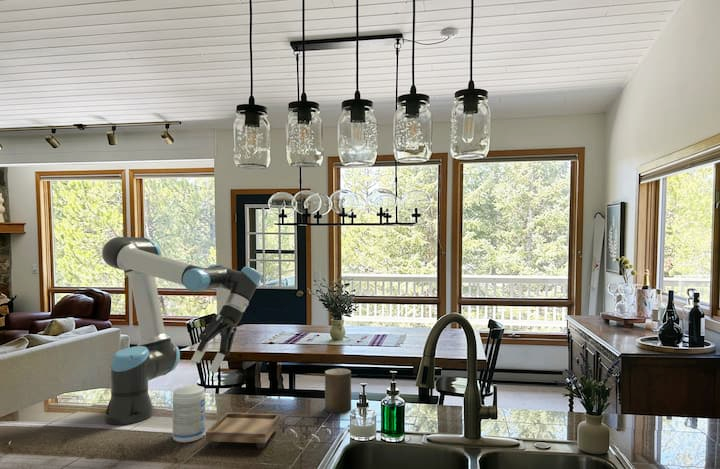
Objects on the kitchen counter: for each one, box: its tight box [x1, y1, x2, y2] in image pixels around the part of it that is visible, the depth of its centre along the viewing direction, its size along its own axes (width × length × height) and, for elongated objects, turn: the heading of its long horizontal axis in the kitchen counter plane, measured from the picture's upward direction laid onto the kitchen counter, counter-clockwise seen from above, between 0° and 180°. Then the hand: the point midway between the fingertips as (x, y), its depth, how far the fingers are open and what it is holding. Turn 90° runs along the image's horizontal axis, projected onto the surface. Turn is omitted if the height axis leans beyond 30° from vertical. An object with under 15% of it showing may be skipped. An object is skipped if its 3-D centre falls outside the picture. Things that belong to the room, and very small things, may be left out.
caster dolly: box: [205, 412, 281, 450], centre depth 140 cm, size 18×16×5 cm
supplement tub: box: [172, 385, 206, 443], centre depth 142 cm, size 10×10×15 cm
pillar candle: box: [324, 368, 352, 414], centre depth 167 cm, size 10×10×15 cm
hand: (203, 366), depth 150 cm, fingers open, 13 cm apart
